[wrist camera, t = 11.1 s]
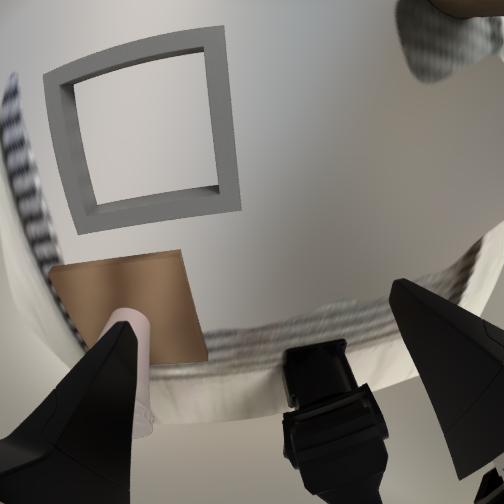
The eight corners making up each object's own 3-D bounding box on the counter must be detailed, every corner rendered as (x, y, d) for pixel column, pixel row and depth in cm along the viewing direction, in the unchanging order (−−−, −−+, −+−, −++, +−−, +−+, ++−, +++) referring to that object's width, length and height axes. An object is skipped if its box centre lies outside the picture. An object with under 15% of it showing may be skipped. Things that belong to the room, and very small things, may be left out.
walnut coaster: (180, 249, 21) (179, 256, 20) (208, 353, 27) (208, 360, 26) (52, 266, 20) (47, 273, 19) (102, 358, 26) (100, 364, 26)
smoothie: (84, 317, 22) (38, 458, 10) (123, 281, 21) (72, 455, 9) (136, 355, 25) (117, 490, 13) (180, 327, 24) (172, 489, 12)
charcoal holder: (223, 32, 13) (224, 25, 12) (239, 199, 19) (241, 210, 18) (57, 74, 13) (42, 74, 11) (88, 222, 19) (78, 235, 17)
